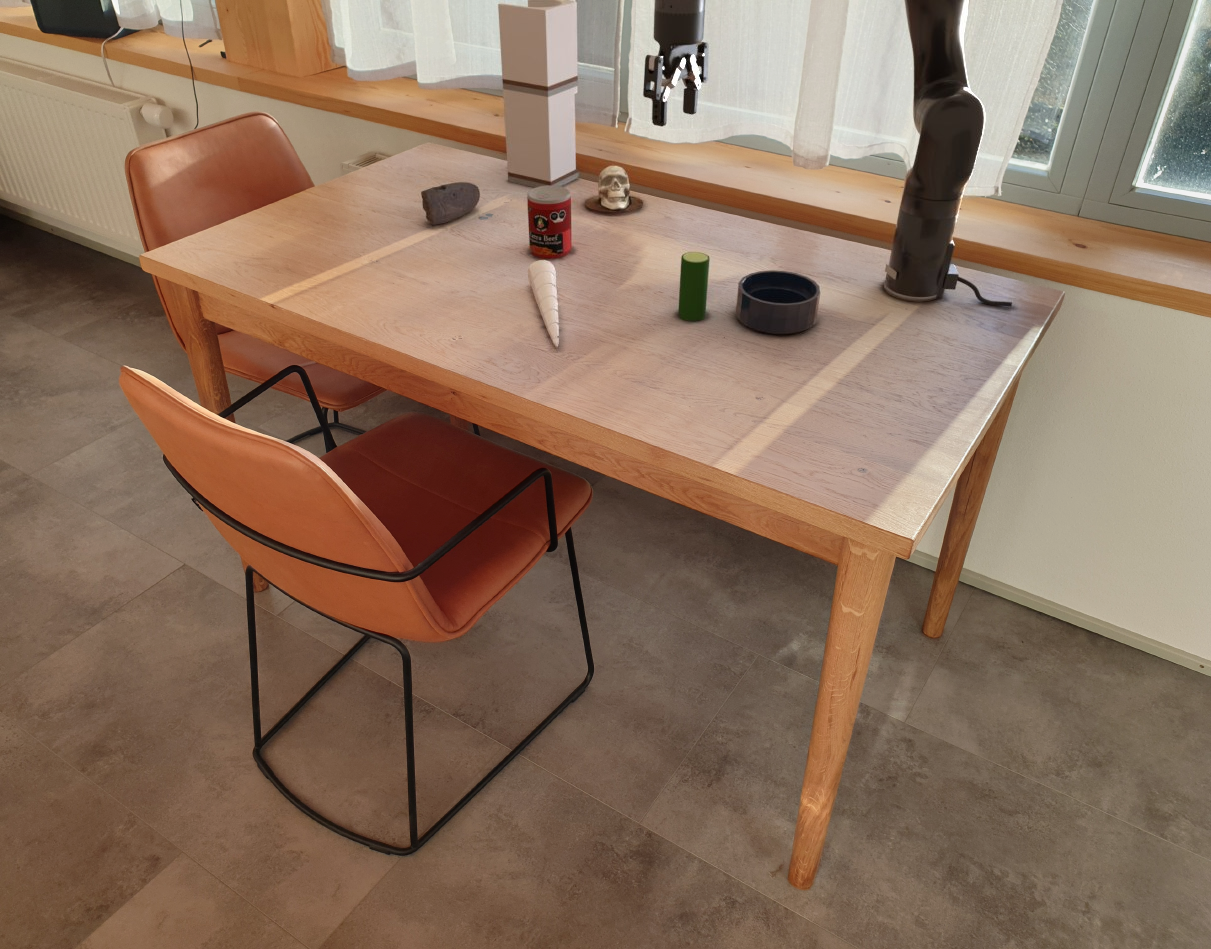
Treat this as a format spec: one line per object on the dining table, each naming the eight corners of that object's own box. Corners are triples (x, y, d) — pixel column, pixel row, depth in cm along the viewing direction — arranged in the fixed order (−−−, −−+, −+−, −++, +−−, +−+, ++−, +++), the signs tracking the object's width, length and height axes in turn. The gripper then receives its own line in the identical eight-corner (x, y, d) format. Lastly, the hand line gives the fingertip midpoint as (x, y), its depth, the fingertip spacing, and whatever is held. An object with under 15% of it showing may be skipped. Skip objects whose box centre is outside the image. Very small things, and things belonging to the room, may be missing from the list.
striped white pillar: (578, 177, 206) (576, 1, 185) (551, 191, 199) (545, 10, 178) (536, 167, 211) (530, -4, 190) (508, 181, 204) (498, 4, 183)
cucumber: (705, 310, 154) (710, 252, 148) (704, 322, 150) (709, 263, 144) (678, 308, 154) (682, 250, 148) (677, 320, 150) (680, 261, 145)
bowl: (813, 303, 156) (817, 272, 153) (818, 339, 146) (823, 307, 142) (735, 299, 157) (738, 268, 154) (735, 334, 147) (738, 302, 143)
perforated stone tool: (472, 204, 192) (469, 171, 188) (489, 210, 189) (487, 176, 185) (415, 225, 183) (411, 190, 179) (432, 232, 180) (429, 196, 176)
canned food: (522, 255, 171) (519, 196, 165) (541, 240, 177) (539, 182, 171) (560, 262, 169) (559, 202, 162) (578, 246, 175) (577, 188, 168)
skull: (650, 210, 187) (615, 173, 182) (611, 243, 191) (577, 207, 186) (647, 187, 196) (614, 151, 191) (610, 219, 200) (577, 185, 196)
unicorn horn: (532, 350, 142) (531, 322, 139) (528, 285, 161) (527, 258, 158) (563, 349, 142) (562, 321, 140) (555, 284, 162) (555, 257, 159)
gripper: (673, 17, 132) (668, 134, 142) (726, 2, 141) (718, 113, 151) (630, 10, 136) (629, 125, 145) (685, -3, 145) (680, 105, 154)
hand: (674, 119), depth 148 cm, fingers open, 8 cm apart
